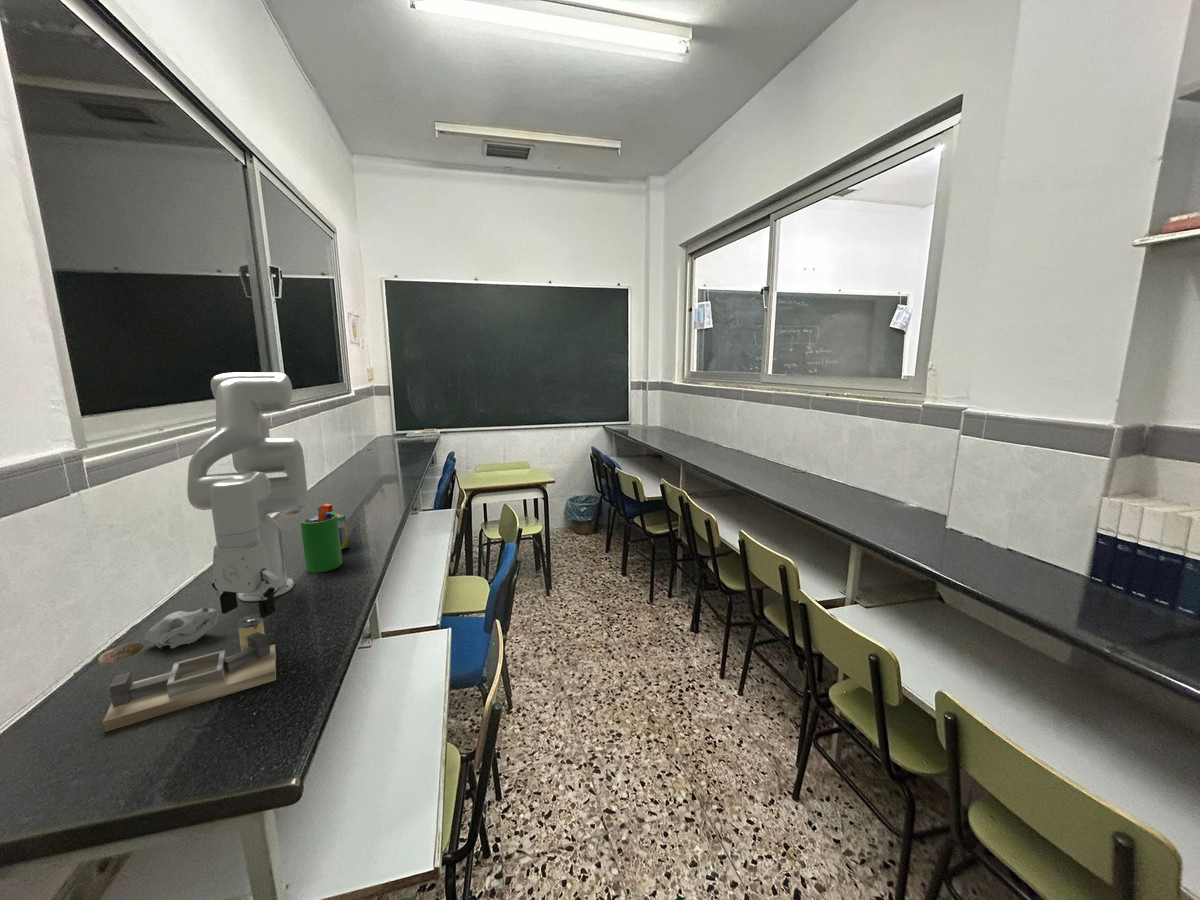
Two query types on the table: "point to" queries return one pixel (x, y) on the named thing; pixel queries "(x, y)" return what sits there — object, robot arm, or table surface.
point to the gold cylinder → (249, 628)
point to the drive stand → (191, 683)
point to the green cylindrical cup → (322, 541)
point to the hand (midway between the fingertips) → (248, 612)
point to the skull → (182, 627)
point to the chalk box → (341, 527)
